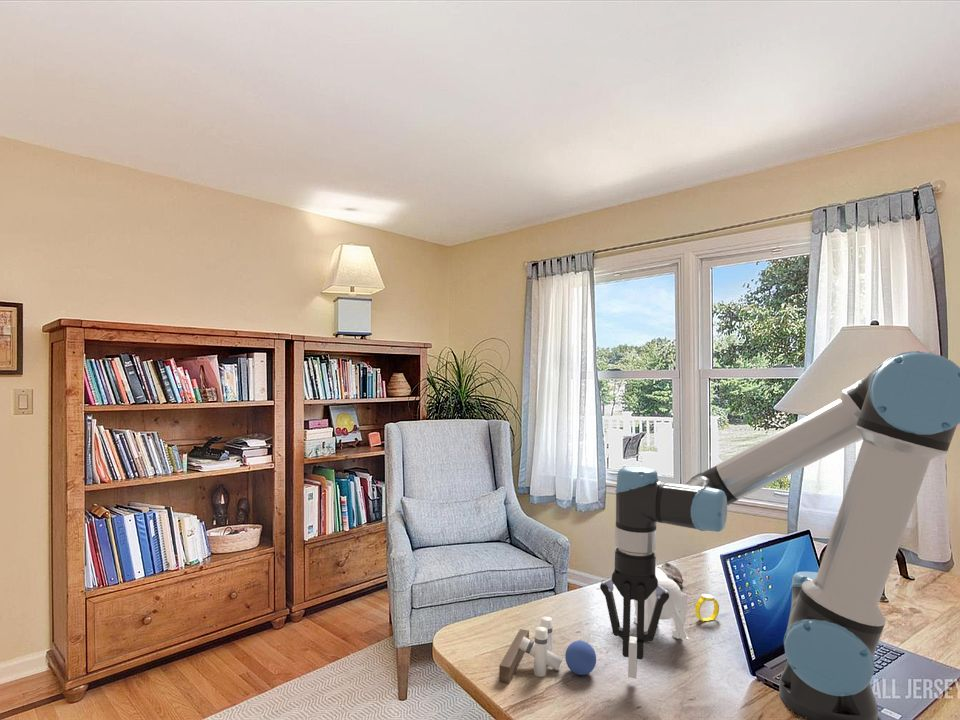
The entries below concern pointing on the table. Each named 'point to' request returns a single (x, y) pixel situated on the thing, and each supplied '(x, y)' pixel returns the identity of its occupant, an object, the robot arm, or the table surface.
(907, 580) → the table surface
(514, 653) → the back wall
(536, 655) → the pin
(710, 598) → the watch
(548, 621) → the pin
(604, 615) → the table surface
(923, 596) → the table surface
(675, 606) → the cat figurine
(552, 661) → the front pin
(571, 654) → the ball
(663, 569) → the mineral rock
